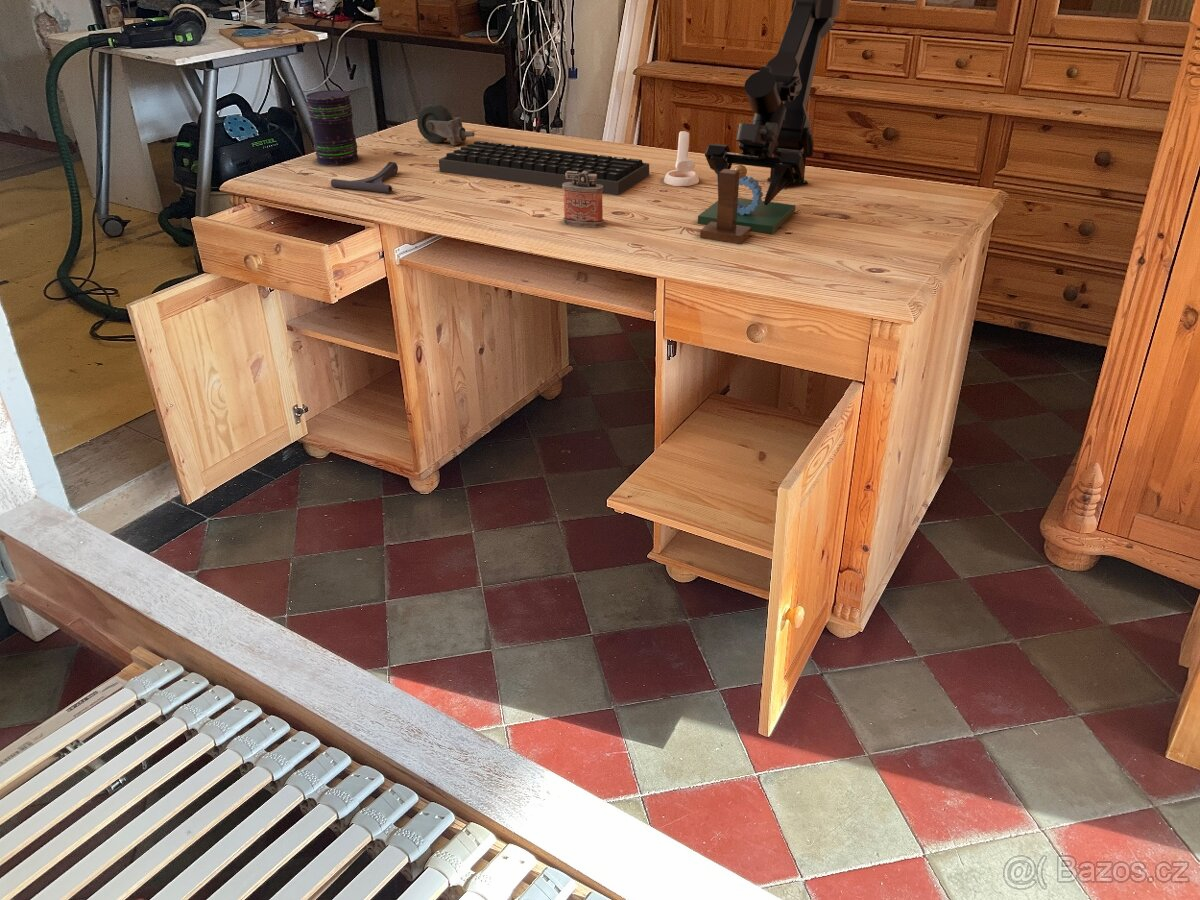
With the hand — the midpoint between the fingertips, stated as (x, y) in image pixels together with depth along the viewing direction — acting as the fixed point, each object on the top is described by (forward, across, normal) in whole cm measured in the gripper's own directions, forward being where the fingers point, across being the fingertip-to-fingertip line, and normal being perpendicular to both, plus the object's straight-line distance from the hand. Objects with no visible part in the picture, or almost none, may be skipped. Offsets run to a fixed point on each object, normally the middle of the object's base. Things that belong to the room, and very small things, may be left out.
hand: (742, 201), depth 185 cm
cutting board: (+1, 0, +5) cm, 5 cm away
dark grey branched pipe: (+7, -82, -1) cm, 82 cm away
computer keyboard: (-7, -52, +13) cm, 54 cm away
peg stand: (+7, 0, -1) cm, 7 cm away
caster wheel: (-17, -87, +23) cm, 92 cm away
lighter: (+12, -28, -6) cm, 31 cm away
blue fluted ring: (+1, 0, +3) cm, 3 cm away
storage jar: (0, -102, +6) cm, 102 cm away
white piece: (-12, -21, +18) cm, 30 cm away
